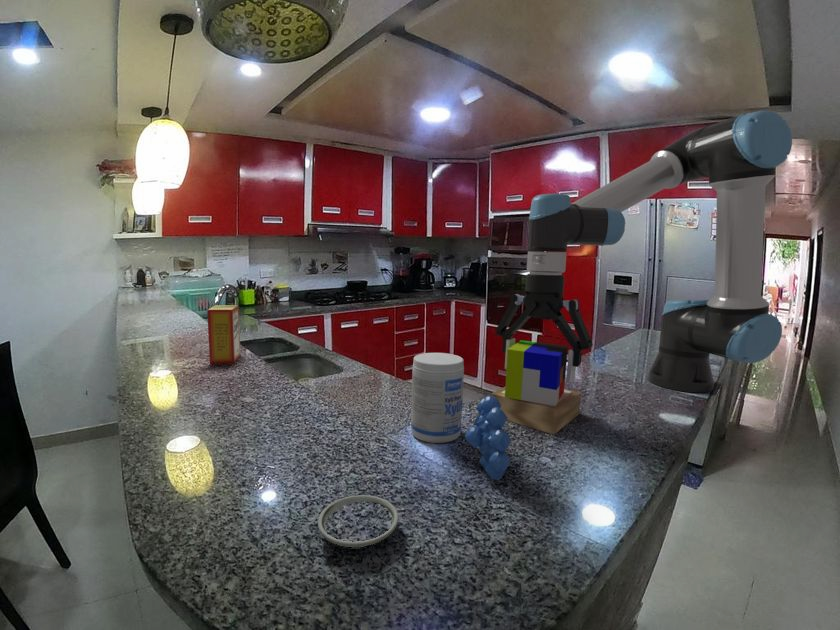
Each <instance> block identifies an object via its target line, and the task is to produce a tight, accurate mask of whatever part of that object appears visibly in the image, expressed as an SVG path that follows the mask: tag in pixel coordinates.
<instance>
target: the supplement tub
mask: <svg viewBox="0 0 840 630" xmlns="http://www.w3.org/2000/svg"><path fill="white" fill-rule="evenodd" d="M464 363H465V362H464V358H462V357H461V356H459V355H456V354H452V353H447V352H425V353H419V354H416V355H415V356H414V357H413V364H412V375H411V377H412V378H411V381H412V382H411V410H410V411H411V415H410V418H411V419H410V430H411V434H412V435H413V436H414V438H417V439H418V440H419V441H422V442H425V443H431V444H444V443H450V442H453V441H455V440H457V439H458V438H459V437H460V435H461V434H462V421H463V420H462V419H463V418H462V417H463V400H464V399H463V398H464V395H463V393H464V380H465V379H464V377H465V375H464V373H465V366H464Z"/></svg>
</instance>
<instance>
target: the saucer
mask: <svg viewBox="0 0 840 630" xmlns="http://www.w3.org/2000/svg"><path fill="white" fill-rule="evenodd" d="M364 501H366V502H367V501H369V502H373V503H378V504H381V505H383V506H384V507H386V508H387V509H388V510H389V512H390V513H391V515H392V525H391V527H390V529H389V530H388V531H386V532H385V533H384V534H382V535H380V536H378V537H376V538H373V539H370V540H365V541H356V542H352V541H343V540H339V539H336V538H334V537H332V536H330V535H329V534H327V532H326V530H325V524H326V521H327V519H328V517H329V516H330V515H331V514H333V512H335V511H336V510H337V509H340V508H341V507H342V506H345V505H349V504H352V503H355V502H364ZM398 512H399V511H398V510H397V508H396V507H395V505H393V504H392V503H391V502H390V501H388V500H387V499H385V498H382V497H378V496H374V495H369V494H367V495H365V494H361V495H360V494H358V495H357V494H356V495H350V496H345V497H343V498H339V499H337V500H334V501H333V502H332V503H329V504H328V505H327V506H326V507H324V509H323V510H321V513H320V514H319V516H318V520H317V528H318V531H319V533H320V535H321V536H322V537H323V538H324V539H325V540H327V541H328V542H330V543H331V544H334V545H336V544H337V545H336V546H338V545H340V546H339V547H341V546H346V547H361V546H367V545H371V544H374V543H377V542H378V543H380V542H382V541H383V540H385V539H386V538H388V537H389V536H390V535H391V534H392V533H393V532H394V531H395V530H396V528H397V527H398V525H399V513H398ZM381 540H382V541H381ZM379 541H380V542H379ZM378 543H377V544H378ZM374 545H375V544H374Z"/></svg>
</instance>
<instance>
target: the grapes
mask: <svg viewBox="0 0 840 630" xmlns="http://www.w3.org/2000/svg"><path fill="white" fill-rule="evenodd" d="M500 408H501V404H500V403H499V401H498V400H497V399H496V398H495V397H494V396H492V395H491V394H489V395H487V396H486V397H483V398H482V399H480V401H479V402H478V404H477V405H476V407H475V409H476V411H477V412H478V415H477V417H476V419H475V420H474V422H473V424H474V425H472V426H470V427H469V429H468V430H467V432H466V434H465V435H464V438H465V440H466V441H467V443H468V444H469V445H470V446H471V447H472V448H477V449H478V451H479V452H480V453H481V457H480V459H479V463H480V465H481V466H482V467H483V469H484V468H485V469H484V471H485V472H486V473H487V474H488V477H490V479H492V480H494V479H495V481H499V480H501V479H502V477H503V476H504V474H505V472H506V470H507V469H508V467H509V466H510V464H511V459H510V457H509V455H508V454H507V453H506V451H507V449H508V447H509V446H510V445H511V442H512V438H511V437H510V435H508V433H507V432H506V431H505V430H504V429H503V427H504V426H505V424H506V423H507V416H506V415H505V413H504V412H503V411H502V410H501V409H500ZM498 479H499V480H498Z"/></svg>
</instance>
